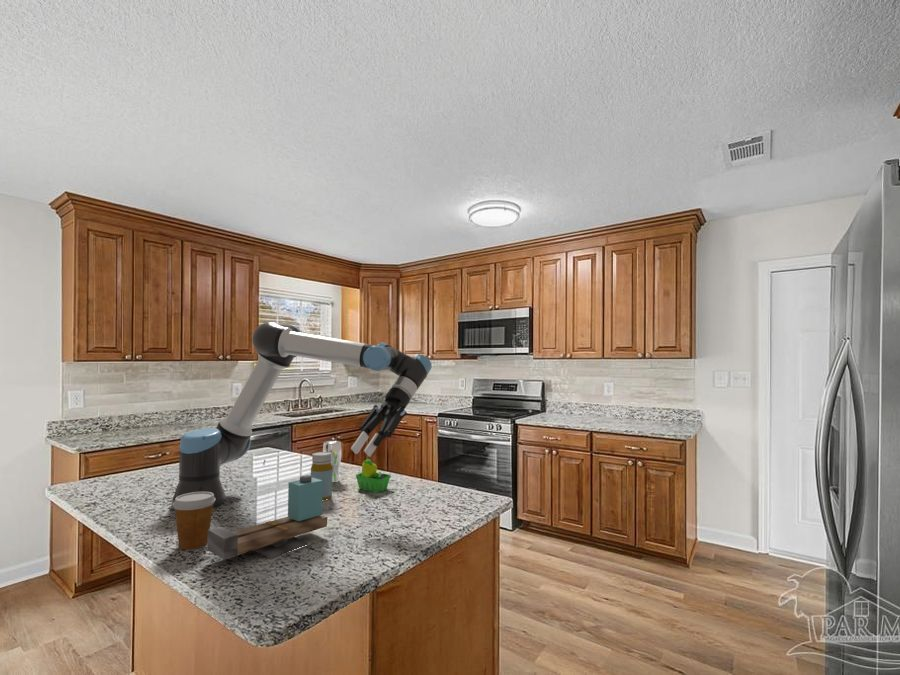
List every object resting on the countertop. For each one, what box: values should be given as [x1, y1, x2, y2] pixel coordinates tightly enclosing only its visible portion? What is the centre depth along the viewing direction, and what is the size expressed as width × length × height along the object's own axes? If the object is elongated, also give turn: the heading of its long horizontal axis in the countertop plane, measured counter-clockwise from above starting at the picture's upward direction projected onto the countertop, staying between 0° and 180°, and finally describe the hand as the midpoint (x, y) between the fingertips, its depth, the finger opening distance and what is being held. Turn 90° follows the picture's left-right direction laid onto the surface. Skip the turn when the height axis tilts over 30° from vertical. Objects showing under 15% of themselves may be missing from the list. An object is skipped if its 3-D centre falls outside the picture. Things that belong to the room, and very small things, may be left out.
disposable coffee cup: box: [173, 492, 216, 550], centre depth 118 cm, size 10×10×12 cm
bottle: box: [310, 451, 333, 501], centre depth 158 cm, size 7×7×15 cm
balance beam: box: [206, 514, 328, 561], centre depth 116 cm, size 27×12×7 cm, turn 140°
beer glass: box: [322, 440, 342, 483], centre depth 180 cm, size 7×7×15 cm
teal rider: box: [287, 474, 323, 521], centre depth 123 cm, size 7×5×12 cm
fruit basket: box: [355, 458, 392, 493], centre depth 169 cm, size 11×9×11 cm
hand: (360, 452), depth 138 cm, fingers open, 5 cm apart
